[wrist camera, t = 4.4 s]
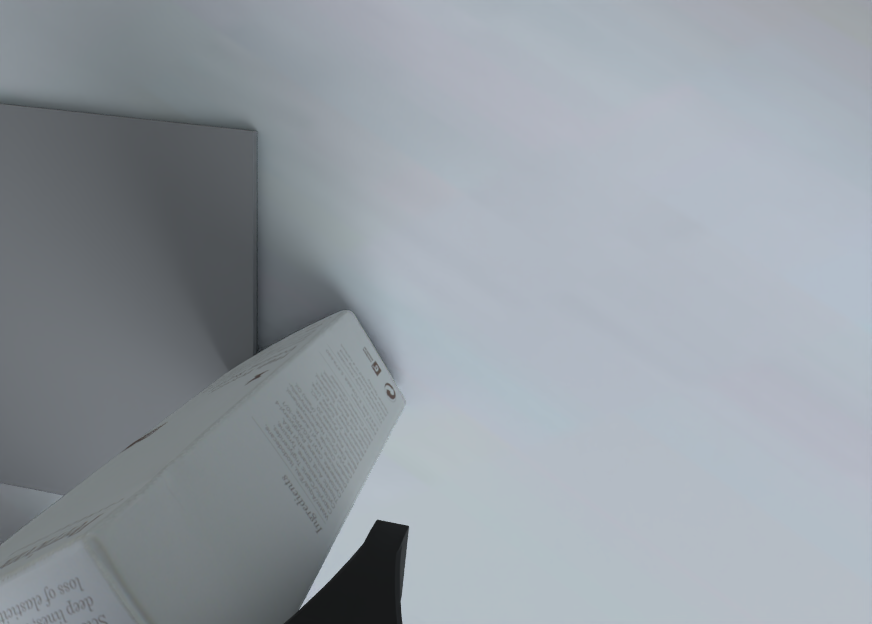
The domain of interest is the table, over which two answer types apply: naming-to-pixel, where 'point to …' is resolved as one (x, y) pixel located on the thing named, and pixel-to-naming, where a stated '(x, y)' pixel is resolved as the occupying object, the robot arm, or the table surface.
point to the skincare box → (216, 496)
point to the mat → (116, 281)
